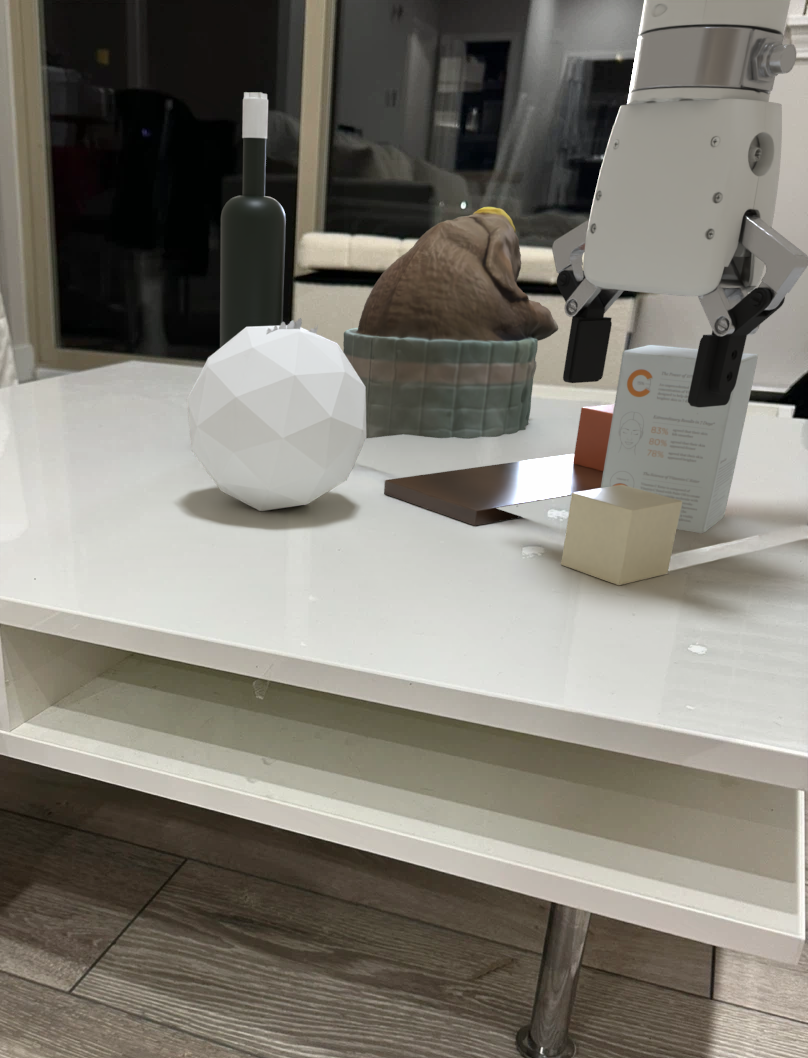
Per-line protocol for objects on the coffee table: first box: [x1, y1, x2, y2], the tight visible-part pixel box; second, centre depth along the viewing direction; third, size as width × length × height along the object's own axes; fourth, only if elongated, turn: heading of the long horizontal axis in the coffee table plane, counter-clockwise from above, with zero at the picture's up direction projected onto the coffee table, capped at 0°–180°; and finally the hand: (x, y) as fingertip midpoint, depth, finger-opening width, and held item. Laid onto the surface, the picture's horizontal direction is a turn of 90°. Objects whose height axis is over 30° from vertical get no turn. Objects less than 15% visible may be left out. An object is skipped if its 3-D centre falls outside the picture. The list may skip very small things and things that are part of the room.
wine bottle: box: [219, 91, 287, 349], centre depth 96 cm, size 6×6×30 cm
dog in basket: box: [342, 206, 559, 440], centre depth 111 cm, size 23×25×22 cm
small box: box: [601, 344, 759, 534], centre depth 78 cm, size 8×6×13 cm
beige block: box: [560, 485, 682, 586], centre depth 70 cm, size 5×5×5 cm
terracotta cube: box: [573, 403, 615, 471], centre depth 94 cm, size 5×5×5 cm
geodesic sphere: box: [186, 317, 367, 512], centre depth 82 cm, size 15×14×14 cm
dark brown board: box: [383, 453, 603, 526], centre depth 91 cm, size 26×11×1 cm, turn 123°
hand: (641, 392), depth 66 cm, fingers open, 9 cm apart
